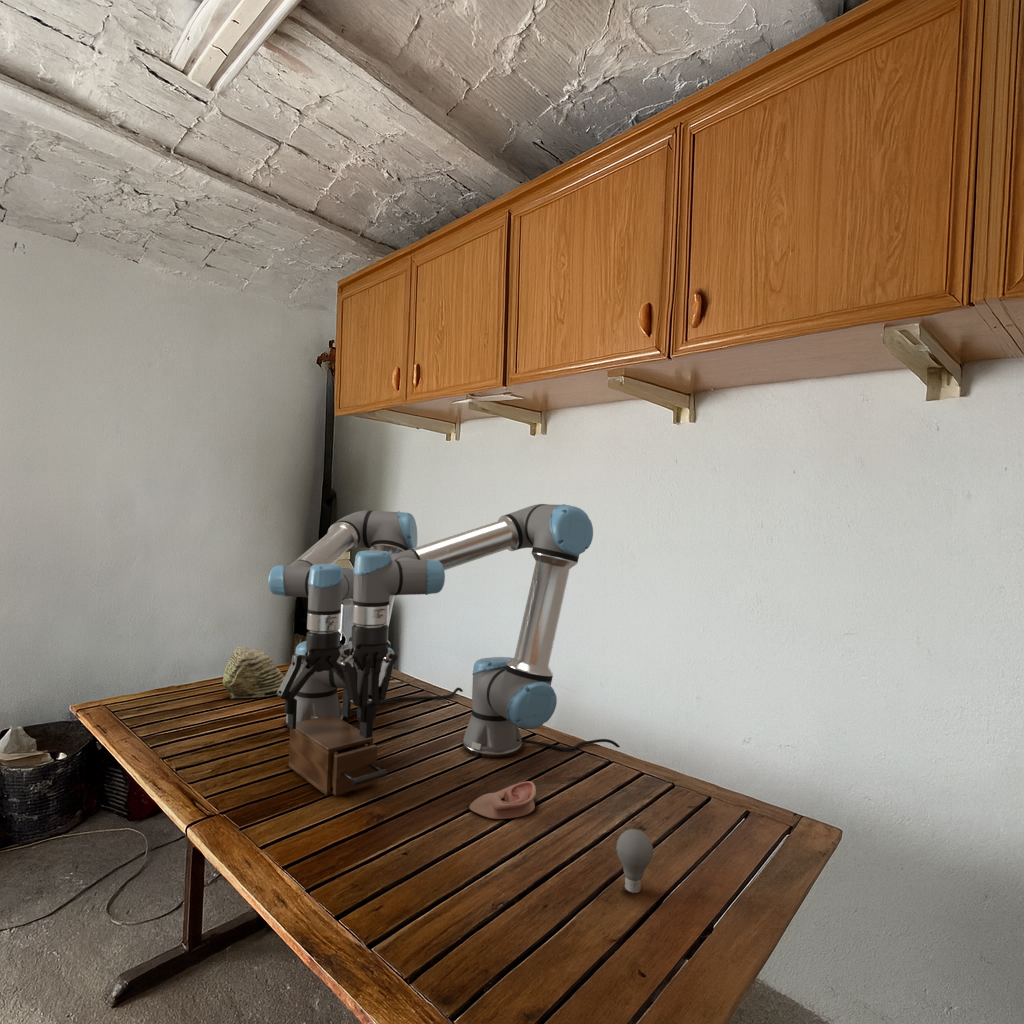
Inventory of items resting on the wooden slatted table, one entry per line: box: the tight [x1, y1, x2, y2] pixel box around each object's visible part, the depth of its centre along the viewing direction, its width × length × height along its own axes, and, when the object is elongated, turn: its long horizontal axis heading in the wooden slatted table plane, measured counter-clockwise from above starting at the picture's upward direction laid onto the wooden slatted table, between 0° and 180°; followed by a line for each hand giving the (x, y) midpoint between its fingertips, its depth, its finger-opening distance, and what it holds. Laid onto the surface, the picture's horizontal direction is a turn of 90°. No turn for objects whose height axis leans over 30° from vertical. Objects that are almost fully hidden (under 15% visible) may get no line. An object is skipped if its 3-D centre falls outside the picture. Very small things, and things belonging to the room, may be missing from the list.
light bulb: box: [615, 828, 654, 894], centre depth 106 cm, size 6×6×10 cm
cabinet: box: [288, 715, 374, 797], centre depth 145 cm, size 19×11×10 cm, turn 44°
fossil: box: [222, 646, 285, 699], centre depth 198 cm, size 9×18×15 cm, turn 132°
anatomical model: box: [468, 780, 537, 820], centre depth 133 cm, size 13×4×12 cm
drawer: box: [331, 743, 388, 796], centre depth 140 cm, size 24×10×8 cm, turn 44°
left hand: (319, 721), depth 148 cm, fingers open, 13 cm apart
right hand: (365, 735), depth 133 cm, fingers closed
